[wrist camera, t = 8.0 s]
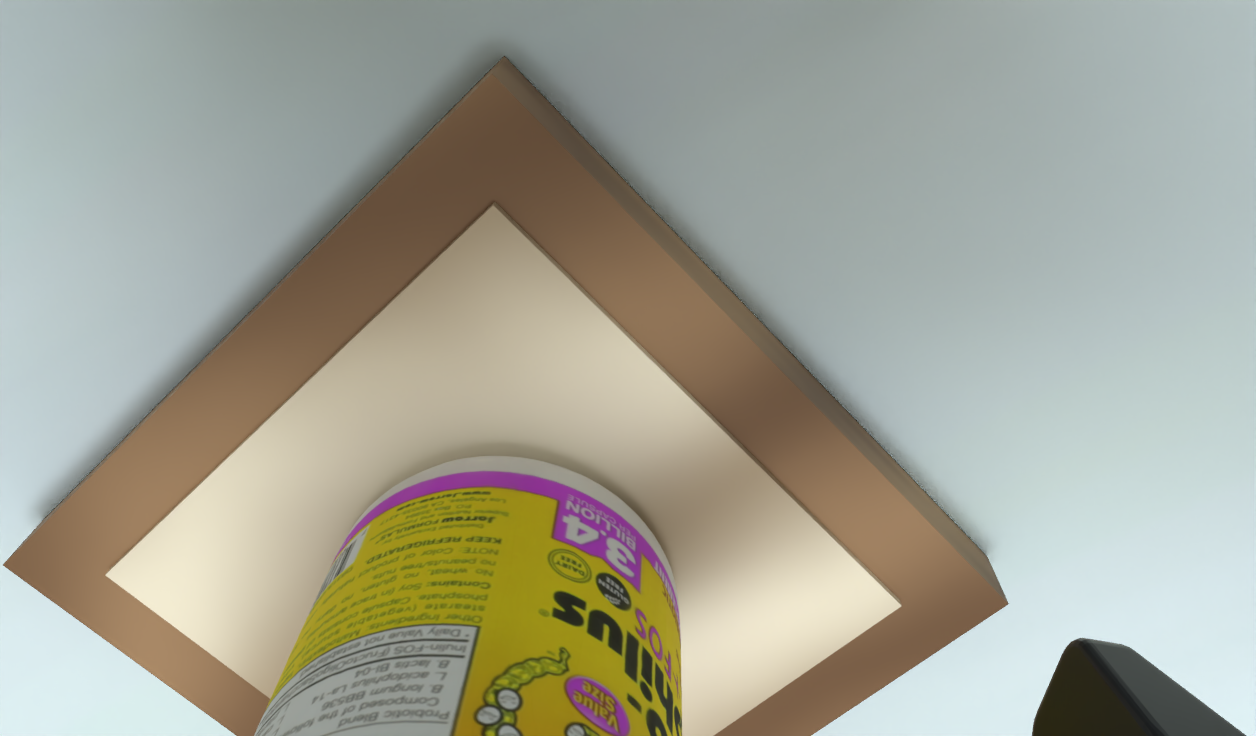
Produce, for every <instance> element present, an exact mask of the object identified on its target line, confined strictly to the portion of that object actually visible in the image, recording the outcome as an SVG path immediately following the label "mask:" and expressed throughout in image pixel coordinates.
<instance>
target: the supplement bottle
mask: <svg viewBox="0 0 1256 736" xmlns="http://www.w3.org/2000/svg"><path fill="white" fill-rule="evenodd" d="M254 736H682V687H681V632H680V616H679V602H678V593H677V589H676V584H675V580H674V577H673V573H672V570H671V567H670V565H669V562H668V560H667V558H666V555H665V554H664V552H663V550H662V548H661V546H660V544H659V543H658V541H657V539H656V538H655V536H654V535H653V533H652V532H651V531H650V529H649V528H648V527H647V525H646V524H645V523H644V522H643V521H642V519H641V518H640V517H639V516H638V515H637V514H636V513H635V512H634V511H633V510H632V509H631V508H630V507H629V506H628V505H627V504H626V503H625V502H624V501H622V500H621V499H620V498H619V497H617V496H616V495H615V494H613V493H612V492H610V491H609V490H607V489H606V488H604V487H603V486H601V485H600V484H598V483H596V482H594V481H593V480H591V479H589V478H587V477H585V476H583V475H581V474H578V473H576V472H574V471H571V470H569V469H566V468H564V467H561V466H558V465H554V464H551V463H547V462H543V461H539V460H533V459H528V458H521V457H509V456H479V457H470V458H463V459H457V460H453V461H450V462H446V463H443V464H440V465H437V466H435V467H432V468H430V469H427V470H424V471H422V472H420V473H418V474H416V475H414V476H411V477H409V478H407V479H405V480H404V481H402V482H400V483H399V484H397V485H396V486H394V487H392V488H391V489H390V490H388V491H387V492H386V493H384V494H383V495H382V496H381V497H380V498H378V499H377V500H376V501H375V502H374V503H373V504H372V505H370V506H369V507H368V508H367V510H366V511H365V512H364V513H363V514H362V515H361V516H360V518H359V519H358V520H357V522H356V523H355V524H354V526H353V527H352V529H351V530H350V532H349V533H348V535H347V537H346V539H345V540H344V542H343V544H342V546H341V548H340V550H339V552H338V553H337V555H336V557H335V559H334V561H333V563H332V565H331V567H330V569H329V571H328V573H327V576H326V578H325V580H324V582H323V584H322V587H321V589H320V591H319V593H318V595H317V598H316V600H315V602H314V604H313V606H312V609H311V611H310V613H309V615H308V617H307V619H306V622H305V624H304V626H303V628H302V630H301V632H300V634H299V636H298V639H297V641H296V643H295V645H294V648H293V650H292V652H291V654H290V656H289V658H288V661H287V663H286V665H285V668H284V670H283V672H282V674H281V677H280V679H279V681H278V683H277V686H276V688H275V690H274V692H273V695H272V697H271V699H270V701H269V703H268V705H267V708H266V710H265V712H264V715H263V717H262V719H261V721H260V723H259V725H258V727H257V730H256V732H255V735H254Z"/></svg>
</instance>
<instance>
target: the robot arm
mask: <svg viewBox="0 0 1256 736" xmlns="http://www.w3.org/2000/svg"><path fill="white" fill-rule="evenodd" d="M1032 736H1246V735H1245V734H1243V733H1242V732H1241V731H1239V730H1238V729H1237V728H1235V727H1234V726H1233V725H1232V724H1230V723H1229V722H1228V721H1226V720H1225V719H1224V718H1222V717H1221V716H1220V715H1218V714H1217V713H1216V712H1214V711H1213V710H1212V709H1210V708H1209V707H1208V706H1207V705H1205V704H1204V703H1203V702H1201V701H1200V700H1199V699H1197V698H1196V697H1195V696H1193V695H1192V694H1191V693H1189V692H1188V691H1187V690H1185V689H1184V688H1183V687H1182V686H1180V685H1179V684H1178V683H1176V682H1175V681H1174V680H1172V679H1171V678H1170V677H1168V676H1167V675H1166V674H1164V673H1163V672H1162V671H1160V670H1159V669H1158V668H1156V667H1155V666H1154V665H1153V664H1151V663H1150V662H1149V661H1147V660H1146V659H1145V658H1143V657H1142V656H1141V655H1139V654H1138V653H1137V652H1135V651H1134V650H1133V649H1131V648H1130V647H1127V646H1125V645H1122V644H1117V643H1111V642H1105V641H1099V640H1093V639H1086V638H1079V639H1076V640H1074V641H1072V642H1071V643H1070V644H1069V645H1068V646H1067V647H1066V649H1065V650H1064V652H1063V654H1062V656H1061V658H1060V661H1059V663H1058V665H1057V668H1056V670H1055V672H1054V674H1053V677H1052V679H1051V681H1050V684H1049V686H1048V688H1047V690H1046V693H1045V695H1044V697H1043V700H1042V702H1041V704H1040V707H1039V709H1038V711H1037V714H1036V717H1035V720H1034V725H1033V732H1032Z"/></svg>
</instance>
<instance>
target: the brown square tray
mask: <svg viewBox="0 0 1256 736" xmlns="http://www.w3.org/2000/svg"><path fill="white" fill-rule="evenodd" d="M479 456H509V457H521V458H528V459H533V460H539V461H543V462H547V463H551V464H554V465H558V466H561V467H564V468H566V469H569V470H571V471H574V472H576V473H578V474H581V475H583V476H585V477H587V478H589V479H591V480H593V481H594V482H596V483H598V484H600V485H601V486H603V487H604V488H606V489H607V490H609V491H610V492H612V493H613V494H615V495H616V496H617V497H619V498H620V499H621V500H622V501H624V502H625V503H626V504H627V505H628V506H629V507H630V508H631V509H632V510H633V511H634V512H635V513H636V514H637V515H638V516H639V517H640V518H641V519H642V521H643V522H644V523H645V524H646V525H647V527H648V528H649V529H650V531H651V532H652V533H653V535H654V536H655V538H656V539H657V541H658V543H659V544H660V546H661V548H662V550H663V552H664V554H665V555H666V558H667V560H668V562H669V565H670V567H671V570H672V573H673V577H674V580H675V584H676V589H677V593H678V602H679V616H680V632H681V687H682V736H811V735H813V734H814V733H816V732H817V731H819V730H820V729H822V728H823V727H825V726H826V725H828V724H829V723H831V722H832V721H834V720H835V719H837V718H838V717H840V716H841V715H843V714H844V713H846V712H847V711H849V710H850V709H852V708H853V707H855V706H856V705H858V704H859V703H861V702H862V701H864V700H865V699H867V698H868V697H870V696H871V695H873V694H874V693H876V692H877V691H879V690H880V689H882V688H883V687H885V686H886V685H888V684H889V683H891V682H892V681H894V680H895V679H897V678H898V677H900V676H901V675H903V674H904V673H906V672H907V671H909V670H910V669H912V668H913V667H915V666H916V665H918V664H919V663H921V662H922V661H924V660H925V659H927V658H928V657H930V656H931V655H933V654H934V653H936V652H937V651H939V650H940V649H942V648H943V647H945V646H946V645H948V644H949V643H951V642H952V641H954V640H955V639H957V638H958V637H960V636H961V635H963V634H964V633H966V632H967V631H969V630H970V629H972V628H973V627H975V626H976V625H978V624H979V623H981V622H982V621H984V620H985V619H987V618H988V617H990V616H991V615H993V614H994V613H996V612H997V611H999V610H1000V609H1002V608H1003V607H1005V606H1006V605H1008V602H1007V599H1006V597H1005V595H1004V593H1003V590H1002V588H1001V586H1000V584H999V581H998V579H997V577H996V575H995V573H994V570H993V568H992V566H991V564H990V561H989V559H988V557H987V556H986V555H985V554H984V553H983V552H982V551H981V550H980V549H979V548H978V547H977V546H976V545H975V544H974V543H973V542H972V540H971V539H970V538H969V537H968V536H967V535H966V534H965V533H964V532H963V531H962V530H961V529H960V528H959V527H958V526H957V525H956V524H955V523H954V522H953V521H952V520H951V519H950V518H949V517H948V516H947V515H946V514H945V512H944V511H943V510H942V509H941V508H940V507H939V506H938V505H937V504H936V503H935V502H934V501H933V500H932V499H931V498H930V497H929V496H928V495H927V494H926V493H925V492H924V491H923V490H922V489H921V488H920V487H919V486H918V484H917V483H916V482H915V481H914V480H913V479H912V478H911V477H910V476H909V475H908V474H907V473H906V472H905V471H904V470H903V469H902V468H901V467H900V466H899V465H898V464H897V463H896V462H895V461H894V460H893V459H892V457H891V456H890V455H889V454H888V453H887V452H886V451H885V450H884V449H883V448H882V447H881V446H880V445H879V444H878V443H877V442H876V441H875V440H874V439H873V438H872V437H871V436H870V435H869V434H868V433H867V432H866V431H865V429H864V428H863V427H862V426H861V425H860V424H859V423H858V422H857V421H856V420H855V419H854V418H853V417H852V416H851V415H850V414H849V413H848V412H847V411H846V410H845V409H844V408H843V407H842V406H841V405H840V404H839V403H838V401H837V400H836V399H835V398H834V397H833V396H832V395H831V394H830V393H829V392H828V391H827V390H826V389H825V388H824V387H823V386H822V385H821V384H820V383H819V382H818V381H817V380H816V379H815V378H814V377H813V376H812V374H811V373H810V372H809V371H808V370H807V369H806V368H805V367H804V366H803V365H802V364H801V363H800V362H799V361H798V360H797V359H796V358H795V357H794V356H793V355H792V354H791V353H790V352H789V351H788V350H787V349H786V348H785V346H784V345H783V344H782V343H781V342H780V341H779V340H778V339H777V338H776V337H775V336H774V335H773V334H772V333H771V332H770V331H769V330H768V329H767V328H766V327H765V326H764V325H763V324H762V323H761V322H760V321H759V320H758V318H757V317H756V316H755V315H754V314H753V313H752V312H751V311H750V310H749V309H748V308H747V307H746V306H745V305H744V304H743V303H742V302H741V301H740V300H739V299H738V298H737V297H736V296H735V295H734V294H733V293H732V291H731V290H730V289H729V288H728V287H727V286H726V285H725V284H724V283H723V282H722V281H721V280H720V279H719V278H718V277H717V276H716V275H715V274H714V273H713V272H712V271H711V270H710V269H709V268H708V267H707V266H706V265H705V263H704V262H703V261H702V260H701V259H700V258H699V257H698V256H697V255H696V254H695V253H694V252H693V251H692V250H691V249H690V248H689V247H688V246H687V245H686V244H685V243H684V242H683V241H682V240H681V239H680V238H679V237H678V235H677V234H676V233H675V232H674V231H673V230H672V229H671V228H670V227H669V226H668V225H667V224H666V223H665V222H664V221H663V220H662V219H661V218H660V217H659V216H658V215H657V214H656V213H655V212H654V211H653V210H652V208H651V207H650V206H649V205H648V204H647V203H646V202H645V201H644V200H643V199H642V198H641V197H640V196H639V195H638V194H637V193H636V192H635V191H634V190H633V189H632V188H631V187H630V186H629V185H628V184H627V183H626V182H625V180H624V179H623V178H622V177H621V176H620V175H619V174H618V173H617V172H616V171H615V170H614V169H613V168H612V167H611V166H610V165H609V164H608V163H607V162H606V161H605V160H604V159H603V158H602V157H601V156H600V155H599V154H598V152H597V151H596V150H595V149H594V148H593V147H592V146H591V145H590V144H589V143H588V142H587V141H586V140H585V139H584V138H583V137H582V136H581V135H580V134H579V133H578V132H577V131H576V130H575V129H574V128H573V127H572V125H571V124H570V123H569V122H568V121H567V120H566V119H565V118H564V117H563V116H562V115H561V114H560V113H559V112H558V111H557V110H556V109H555V108H554V107H553V106H552V105H551V104H550V103H549V102H548V101H547V100H546V99H545V97H544V96H543V95H542V94H541V93H540V92H539V91H538V90H537V89H536V88H535V87H534V86H533V85H532V84H531V83H530V82H529V81H528V80H527V79H526V78H525V77H524V76H523V75H522V74H521V73H520V72H519V71H518V69H517V68H516V67H515V66H514V65H513V64H512V63H511V62H510V61H509V60H508V59H507V58H506V57H505V56H504V57H503V58H502V59H501V60H500V61H499V62H498V63H497V64H496V65H495V66H494V67H493V68H492V69H491V70H490V71H489V72H488V73H487V74H486V75H485V76H484V77H483V78H482V79H481V80H480V81H479V82H478V83H477V84H476V85H475V86H474V87H473V88H472V89H471V90H470V91H469V92H468V93H467V94H466V95H465V96H464V97H463V98H462V99H461V100H460V101H459V102H458V103H457V104H456V105H455V106H454V107H453V108H452V109H451V110H450V111H449V112H448V113H447V114H446V115H445V116H444V117H443V118H442V119H441V120H440V121H439V122H438V123H437V124H436V125H435V126H434V127H433V128H432V129H431V130H430V131H429V132H428V133H427V134H426V135H425V136H424V137H423V138H422V139H421V140H420V141H419V142H418V143H417V144H416V145H415V146H414V147H413V148H412V149H411V150H410V151H409V152H408V153H407V154H406V155H405V156H404V157H403V158H402V159H401V160H400V161H399V162H398V163H397V164H396V165H395V166H394V167H393V168H392V169H391V170H390V171H389V172H388V173H387V174H386V175H385V176H384V177H383V178H382V179H381V180H380V181H379V182H378V183H377V184H376V185H375V186H374V188H373V189H372V190H371V191H370V192H369V193H368V194H367V195H366V196H365V197H364V198H363V199H362V200H361V201H360V202H359V203H358V204H357V205H356V206H355V207H354V208H353V209H352V210H351V211H350V212H349V213H348V214H347V215H346V216H345V217H344V218H343V219H342V220H341V221H340V222H339V223H338V224H337V225H336V226H335V227H334V228H333V229H332V230H331V231H330V232H329V233H328V234H327V235H326V236H325V237H324V238H323V239H322V240H321V241H320V242H319V243H318V244H317V245H316V246H315V247H314V248H313V249H312V250H311V251H310V252H309V253H308V254H307V255H306V256H305V257H304V258H303V259H302V260H301V261H300V262H299V263H298V264H297V265H296V266H295V267H294V268H293V269H292V270H291V271H290V272H289V273H288V274H287V275H286V276H285V277H284V278H283V279H282V280H281V281H280V282H279V283H278V284H277V285H276V286H275V287H274V288H273V289H272V290H271V291H270V292H269V293H268V294H267V295H266V296H265V297H264V298H263V299H262V300H261V301H260V302H259V303H258V304H257V305H256V306H255V307H254V308H253V309H252V310H251V311H250V312H249V313H248V314H247V315H246V316H245V317H244V318H243V319H242V320H241V321H240V322H239V323H238V324H237V325H236V326H235V327H234V328H233V329H232V330H231V331H230V332H229V333H228V334H227V335H226V337H225V338H224V339H223V340H222V341H221V342H220V343H219V344H218V345H217V346H216V347H215V348H214V349H213V350H212V351H211V352H210V353H209V354H208V355H207V356H206V357H205V358H204V359H203V360H202V361H201V362H200V363H199V364H198V365H197V366H196V367H195V368H194V369H193V370H192V371H191V372H190V373H189V374H188V375H187V376H186V377H185V378H184V379H183V380H182V381H181V382H180V383H179V384H178V385H177V386H176V387H175V388H174V389H173V390H172V391H171V392H170V393H169V394H168V395H167V396H166V397H165V398H164V399H163V400H162V401H161V402H160V403H159V404H158V405H157V406H156V407H155V408H154V409H153V410H152V411H151V412H150V413H149V414H148V415H147V416H146V417H145V418H144V419H143V420H142V421H141V422H140V423H139V424H138V425H137V426H136V427H135V428H134V429H133V430H132V431H131V432H130V433H129V434H128V435H127V436H126V437H125V438H124V439H123V440H122V441H121V442H120V443H119V444H118V445H117V446H116V447H115V448H114V449H113V450H112V451H111V452H110V453H109V454H108V455H107V456H106V457H105V458H104V459H103V460H102V461H101V462H100V463H99V464H98V465H97V466H96V467H95V468H94V469H93V470H92V471H91V472H90V473H89V474H88V475H87V476H86V477H85V478H84V479H83V480H82V481H81V482H80V483H79V484H78V485H77V487H76V488H75V489H74V490H73V491H72V492H71V493H70V494H69V495H68V496H67V497H66V498H65V499H64V500H63V501H62V502H61V503H60V504H59V505H58V506H57V507H56V508H55V509H54V510H53V511H52V512H51V513H50V514H49V515H48V516H47V517H46V518H45V519H44V520H43V521H42V522H41V523H40V524H39V525H38V526H37V527H36V529H35V530H34V531H33V532H32V533H31V534H30V535H29V536H28V537H27V539H26V540H25V541H24V542H23V543H22V544H21V545H20V546H19V547H18V549H17V550H16V551H15V552H14V553H13V554H12V555H11V556H10V558H9V559H8V560H7V561H6V562H5V563H4V564H3V566H5V567H6V568H7V569H9V570H10V571H12V572H13V573H14V574H16V575H17V576H18V577H20V578H21V579H23V580H24V581H25V582H27V583H28V584H29V585H31V586H32V587H34V588H35V589H36V590H38V591H39V592H40V593H42V594H43V595H44V596H46V597H47V598H49V599H50V600H51V601H53V602H54V603H55V604H57V605H58V606H60V607H61V608H62V609H64V610H65V611H66V612H68V613H69V614H71V615H72V616H73V617H75V618H76V619H77V620H79V621H80V622H82V623H83V624H84V625H86V626H87V627H88V628H90V629H91V630H92V631H94V632H95V633H97V634H98V635H99V636H101V637H102V638H103V639H105V640H106V641H108V642H109V643H110V644H112V645H113V646H114V647H116V648H117V649H119V650H120V651H121V652H123V653H124V654H125V655H127V656H128V657H130V658H131V659H132V660H134V661H135V662H136V663H138V664H139V665H140V666H142V667H143V668H145V669H146V670H147V671H149V672H150V673H151V674H153V675H154V676H156V677H157V678H158V679H160V680H161V681H162V682H164V683H165V684H167V685H168V686H169V687H171V688H172V689H173V690H175V691H176V692H178V693H179V694H180V695H182V696H183V697H184V698H186V699H187V700H188V701H190V702H191V703H193V704H194V705H195V706H197V707H198V708H199V709H201V710H202V711H204V712H205V713H206V714H208V715H209V716H210V717H212V718H213V719H215V720H216V721H217V722H219V723H220V724H221V725H223V726H224V727H226V728H227V729H228V730H230V731H231V732H232V733H234V734H235V735H236V736H254V735H255V732H256V730H257V727H258V725H259V723H260V721H261V719H262V717H263V715H264V712H265V710H266V708H267V705H268V703H269V701H270V699H271V697H272V695H273V692H274V690H275V688H276V686H277V683H278V681H279V679H280V677H281V674H282V672H283V670H284V668H285V665H286V663H287V661H288V658H289V656H290V654H291V652H292V650H293V648H294V645H295V643H296V641H297V639H298V636H299V634H300V632H301V630H302V628H303V626H304V624H305V622H306V619H307V617H308V615H309V613H310V611H311V609H312V606H313V604H314V602H315V600H316V598H317V595H318V593H319V591H320V589H321V587H322V584H323V582H324V580H325V578H326V576H327V573H328V571H329V569H330V567H331V565H332V563H333V561H334V559H335V557H336V555H337V553H338V552H339V550H340V548H341V546H342V544H343V542H344V540H345V539H346V537H347V535H348V533H349V532H350V530H351V529H352V527H353V526H354V524H355V523H356V522H357V520H358V519H359V518H360V516H361V515H362V514H363V513H364V512H365V511H366V510H367V508H368V507H369V506H370V505H372V504H373V503H374V502H375V501H376V500H377V499H378V498H380V497H381V496H382V495H383V494H384V493H386V492H387V491H388V490H390V489H391V488H392V487H394V486H396V485H397V484H399V483H400V482H402V481H404V480H405V479H407V478H409V477H411V476H414V475H416V474H418V473H420V472H422V471H424V470H427V469H430V468H432V467H435V466H437V465H440V464H443V463H446V462H450V461H453V460H457V459H463V458H470V457H479Z"/></svg>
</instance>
